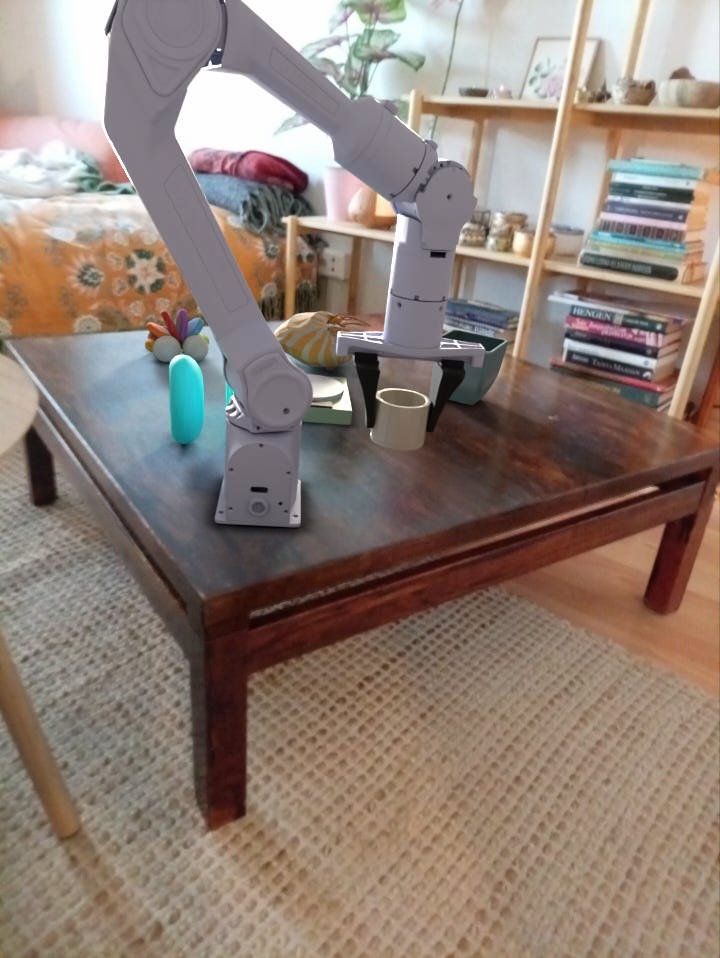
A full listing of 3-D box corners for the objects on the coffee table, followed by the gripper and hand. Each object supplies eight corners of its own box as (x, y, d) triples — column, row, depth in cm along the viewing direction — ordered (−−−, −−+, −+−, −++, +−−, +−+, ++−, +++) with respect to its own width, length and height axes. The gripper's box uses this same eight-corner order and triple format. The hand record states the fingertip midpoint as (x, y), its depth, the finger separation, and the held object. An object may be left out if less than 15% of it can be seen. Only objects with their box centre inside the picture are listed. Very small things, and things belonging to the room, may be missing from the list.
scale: (350, 425, 91) (352, 406, 90) (265, 419, 90) (265, 400, 89) (344, 391, 103) (346, 373, 101) (269, 385, 101) (269, 368, 100)
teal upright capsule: (263, 457, 80) (267, 372, 75) (172, 458, 77) (170, 371, 72) (252, 423, 88) (255, 345, 84) (169, 423, 85) (168, 343, 81)
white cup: (428, 452, 71) (435, 410, 69) (372, 448, 71) (377, 405, 69) (419, 430, 76) (426, 390, 74) (367, 427, 76) (372, 386, 74)
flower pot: (422, 398, 103) (431, 338, 99) (444, 384, 110) (453, 327, 106) (479, 413, 100) (491, 352, 96) (498, 397, 107) (509, 340, 103)
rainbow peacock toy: (140, 348, 110) (139, 302, 107) (202, 347, 114) (202, 302, 111) (150, 365, 104) (149, 316, 100) (215, 363, 108) (216, 316, 104)
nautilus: (342, 344, 126) (405, 372, 118) (248, 353, 111) (312, 386, 103) (350, 300, 123) (415, 326, 114) (254, 303, 108) (321, 333, 99)
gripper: (482, 293, 71) (459, 417, 77) (340, 279, 70) (328, 407, 76) (499, 309, 65) (473, 443, 71) (344, 294, 63) (330, 433, 69)
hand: (399, 426), depth 73 cm, fingers closed on white cup, 6 cm apart
